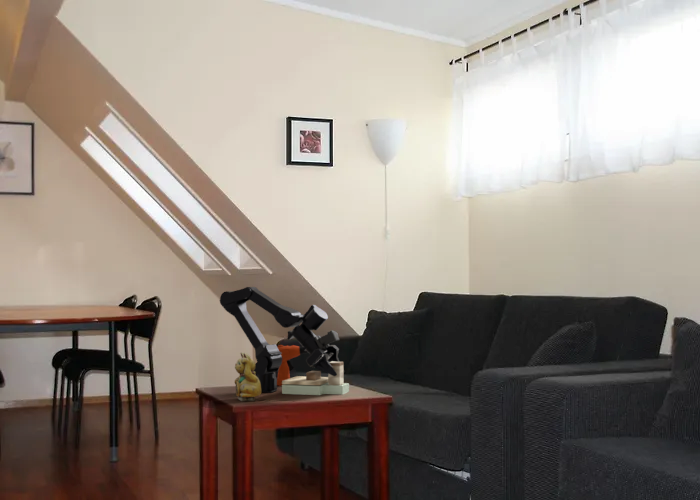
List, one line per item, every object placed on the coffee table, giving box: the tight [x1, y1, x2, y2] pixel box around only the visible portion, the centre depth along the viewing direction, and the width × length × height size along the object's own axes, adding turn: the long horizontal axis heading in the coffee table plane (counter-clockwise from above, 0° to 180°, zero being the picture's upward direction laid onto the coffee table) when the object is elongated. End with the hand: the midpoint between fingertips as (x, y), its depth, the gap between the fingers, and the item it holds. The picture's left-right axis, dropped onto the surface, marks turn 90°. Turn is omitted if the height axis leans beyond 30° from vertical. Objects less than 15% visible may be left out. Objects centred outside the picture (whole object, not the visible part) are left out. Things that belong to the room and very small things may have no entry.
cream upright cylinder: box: [327, 361, 345, 386], centre depth 281 cm, size 4×4×10 cm
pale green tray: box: [281, 382, 350, 396], centre depth 283 cm, size 20×14×4 cm
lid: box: [282, 370, 328, 385], centre depth 284 cm, size 13×14×4 cm
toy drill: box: [276, 344, 309, 387], centre depth 310 cm, size 5×19×15 cm, turn 92°
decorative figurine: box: [234, 352, 262, 402], centre depth 273 cm, size 10×8×15 cm
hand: (339, 374), depth 281 cm, fingers open, 8 cm apart
